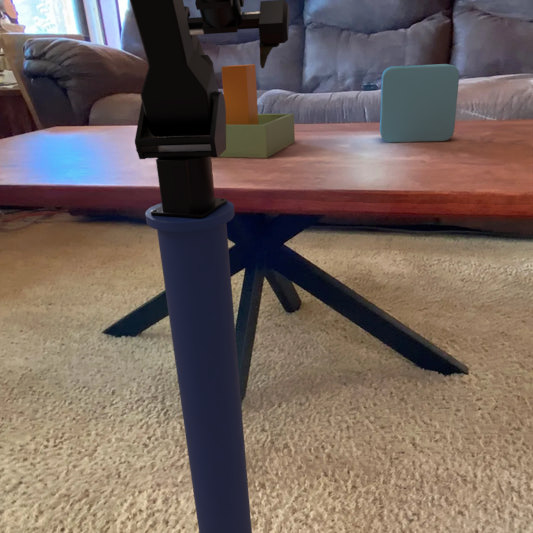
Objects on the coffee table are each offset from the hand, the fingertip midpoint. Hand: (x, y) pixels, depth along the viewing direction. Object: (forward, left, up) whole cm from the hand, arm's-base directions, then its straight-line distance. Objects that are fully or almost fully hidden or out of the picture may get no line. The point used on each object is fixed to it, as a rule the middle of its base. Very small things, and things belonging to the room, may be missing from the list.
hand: (234, 67), depth 82 cm
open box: (+2, 0, -13) cm, 13 cm away
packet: (+1, 0, -13) cm, 13 cm away
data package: (+13, -28, -13) cm, 33 cm away
